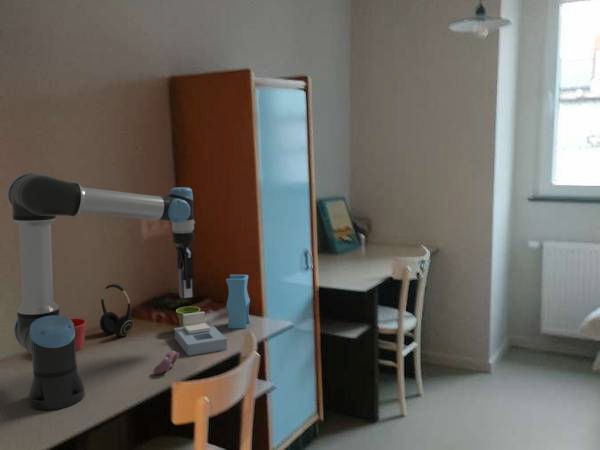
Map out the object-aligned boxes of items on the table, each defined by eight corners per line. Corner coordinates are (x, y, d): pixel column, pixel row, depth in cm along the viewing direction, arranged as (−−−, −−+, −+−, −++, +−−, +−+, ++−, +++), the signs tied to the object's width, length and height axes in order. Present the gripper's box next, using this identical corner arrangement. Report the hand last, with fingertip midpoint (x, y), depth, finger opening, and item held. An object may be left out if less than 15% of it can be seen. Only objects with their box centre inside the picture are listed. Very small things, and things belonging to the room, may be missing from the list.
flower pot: (62, 356, 202) (60, 329, 201) (51, 348, 210) (49, 322, 209) (92, 349, 209) (90, 323, 207) (80, 341, 217) (79, 316, 216)
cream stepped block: (188, 334, 211) (188, 320, 211) (183, 327, 218) (182, 314, 218) (210, 330, 215) (209, 317, 214) (204, 324, 222) (203, 311, 221)
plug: (182, 298, 205) (180, 268, 204) (179, 295, 209) (177, 266, 207) (193, 297, 207) (191, 266, 206) (190, 294, 211) (188, 264, 209)
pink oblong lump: (163, 380, 185) (172, 362, 184) (151, 373, 186) (159, 355, 184) (175, 368, 195) (184, 351, 193) (164, 361, 195) (172, 344, 194)
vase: (231, 321, 239) (230, 274, 236) (250, 322, 238) (249, 274, 235) (227, 328, 231) (225, 279, 228) (246, 328, 230) (245, 279, 227)
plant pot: (206, 329, 229) (205, 308, 228) (189, 336, 221) (188, 314, 220) (188, 325, 234) (187, 305, 233) (171, 332, 226) (170, 310, 225)
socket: (188, 355, 202) (188, 344, 201) (174, 338, 219) (174, 328, 219) (226, 349, 208) (226, 338, 207) (210, 332, 225) (210, 323, 225)
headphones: (111, 328, 231) (108, 280, 228) (139, 334, 224) (137, 284, 221) (94, 335, 224) (91, 284, 221) (123, 341, 217) (120, 289, 214)
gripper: (201, 233, 199) (203, 300, 202) (187, 227, 214) (189, 288, 217) (179, 235, 195) (182, 303, 199) (166, 228, 210) (170, 291, 214)
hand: (186, 295), depth 208 cm, fingers closed on plug, 4 cm apart
